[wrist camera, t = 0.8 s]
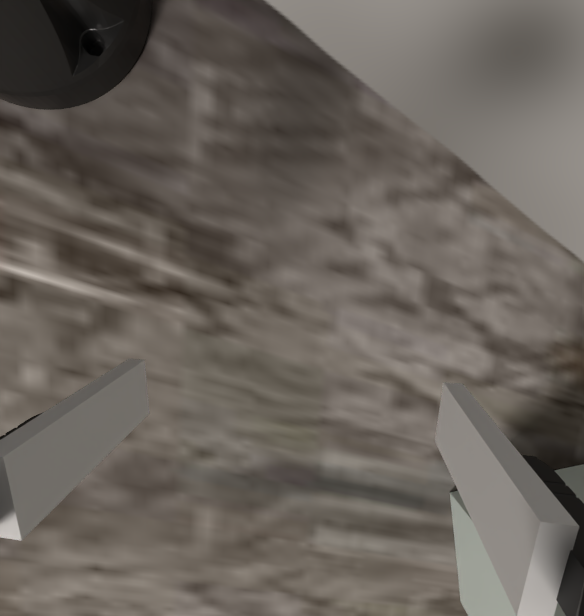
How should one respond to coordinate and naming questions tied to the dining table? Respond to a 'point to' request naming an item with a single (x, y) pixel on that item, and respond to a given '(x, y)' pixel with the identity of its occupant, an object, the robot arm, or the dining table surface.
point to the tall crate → (477, 565)
